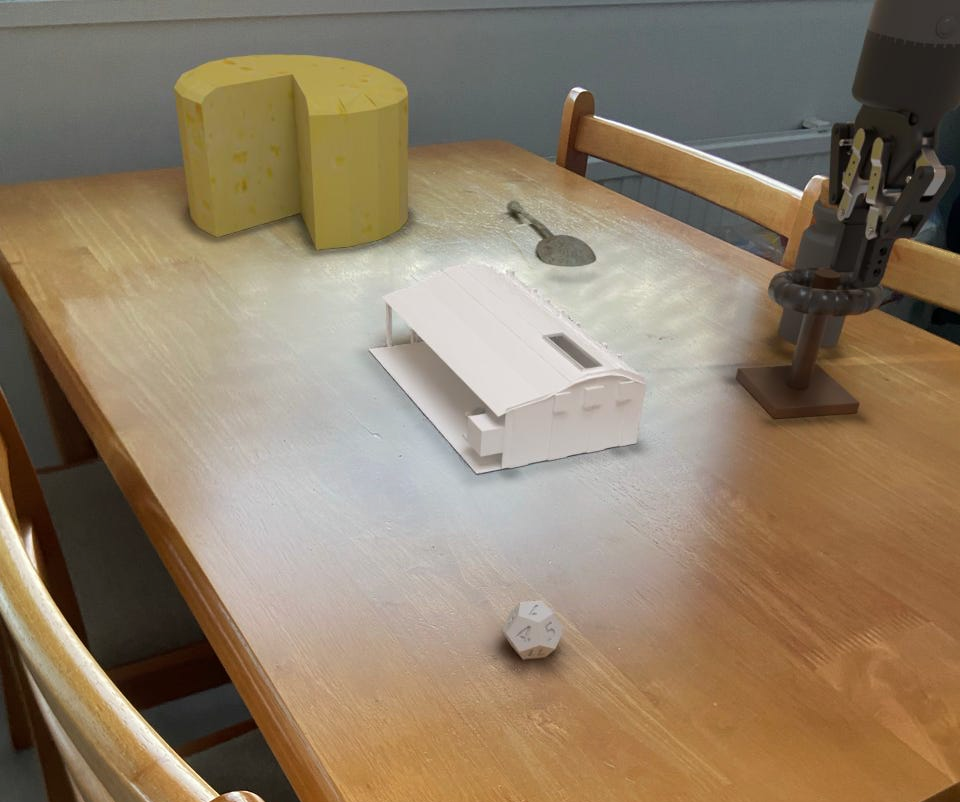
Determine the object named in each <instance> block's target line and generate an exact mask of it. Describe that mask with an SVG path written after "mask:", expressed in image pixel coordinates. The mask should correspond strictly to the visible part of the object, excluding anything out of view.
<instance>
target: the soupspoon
mask: <svg viewBox="0 0 960 802" xmlns="http://www.w3.org/2000/svg"><path fill="white" fill-rule="evenodd" d="M506 211H507V213H508V214H510V215H512V216H514V215H517V214H518V215H522V217H524V218H525V219H526V220H527V221H529V223H531V224H532V225H533V226H535V227H536V228H537V229H538V230H539V231H540V232H541V233H542V234H543V236H544V237H545V238H543V239H541V240H540V241H538V242H537V244H536V246H535V247H536V248H535V249H536V253H537V254H538V256H539V258H540V260H541V262H543V263H544V264H546V265H549V266H550V265H551V266H556V267H565V268H568V267H569V268H570V267H571V268H573V267H575V268H577V267H584V266H587V265H591V264H593V263H595V262H596V261H597V256H596V254H595V252H594V250H593V249H592V247H591V246H589V244H587V243H586V242H585V241H584V240H582V239H580V238H578V237H576V236H572V235H567V234H556V235H555V234H554V233H553V232H552V231H551V230H550V229H549V228H547V227H548V226H546V225H544V224H543V223H542V222H540V221H539V220H538V219H537V218H535V217H534V216H532V215H531V214H530V213H529V212H527V210H525V209H524V207H523V206H522V205H521V203H520V202H519V200H516V199H512V200H509V201H508V202H507V204H506Z"/></svg>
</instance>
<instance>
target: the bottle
mask: <svg viewBox="0 0 960 802" xmlns="http://www.w3.org/2000/svg"><path fill="white" fill-rule="evenodd" d="M820 185H821V187H820V198H819V199H817V200H815V202H814V203H813V206H812V211H811V214H812V216H814V217H815V218H816V221H815V223H814V224H811V225H810V226H808V227H806V228H805V229H804V230H803V231H802V235H801V239H800V242H799V246H798V249H797V254H796V258H795V261H794V265H793V269H795V268H815V267H819V268H831V267H830V262H831V258H832V252H833V248H834V246H835V241H836V237H837V234H838V230H839V226H840V222H841V221H840V220H839V219H838V217H837V211H838V207H837V205H830V204H829V200H828V198H829V178H826V179H823V180H822V181H821V184H820ZM842 189H845V187H844V186H843V185H842ZM865 194H866V193H864V197H865ZM863 200H864V199H863ZM867 221H868V220H866V221H865V222H867ZM804 314H805V313H801V312H797V311H793V310H789V309H786V308H783V309H782V314H781V318H780V321H779V326H778V330H777V334H778V336H779V337H780V338H781V339H782V340H783V341H785V342H787V343H789V344H792V345H794V346H796V344H797V341H798V337H799V333H800V329H801V325H802V322H803V318H804ZM846 317H847V316H829V317H828V321H827V324H826V328H825V332H824V335H823V339H822V342H821V346H820V349H821V350H822V349H829V348H832V347H835V346H836V345H837V344H838V343H839V341H840V337H841V335H842V330H843V327H844V324H845V320H846ZM820 349H819V350H820Z"/></svg>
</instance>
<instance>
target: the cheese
mask: <svg viewBox="0 0 960 802" xmlns="http://www.w3.org/2000/svg"><path fill="white" fill-rule="evenodd" d="M407 87H408V86H407V85H406V84H405V83H404V82H403V81H402V80H401V79H400V78H398V77H397V76H395V75H393V74H392V73H390V72H388V71H386V70H383V69H381V68H380V67H377V66H373V65H369V64H367V63H363V62H360V61H356V60H349V59H344V58H338V57H329V56H320V55H309V54H285V53H284V54H280V53H279V54H251V55H244V56H243V55H242V56H241V55H240V56H233V57H225V58H221V59H217V60H216V59H215V60H212V61H208V62H206V63H203V64H200V65H199V66H197V67H195V68H193V69H190V70H188V71H185V72H183V73H182V74H181V75H180V76H179V78H178V79H177V81H176V83H175V84H174V86H173V91H174V100H175V107H176V115H177V116H176V117H177V122H178V130H179V138H180V144H181V153H182V154H181V155H182V160H183V161H182V162H183V168H184V169H183V170H184V176H185V184H186V190H187V200H188V207H189V214H190V218H191V220H192V221H193V223H194V224H195V226H196V227H197V228H198V229H200V230H202V231H204V232H206V233H207V234H210V235H211V236H213V237H215V238H220V237H223V236H226V235H230V234H234V233H237V232H240V231H244V230H246V229H250V228H251V229H252V228H254V227H257V226H260V225H264V224H267V223H271V222H275V221H278V220H281V219H284V218H288V217H292V216H296V215H298V214H301V216H302V219H303V221H304V223H305V226H306V228H307V231H308V233H309V235H310V238H311V241H312V243H313V245H314V248H315V250H316V251H320V250H330V249H341V248H349V247H354V246H359V245H363V244H368V243H372V242H375V241H376V242H377V241H380V240H382V239H384V238H386V237H388V236H391V235H393V234H394V233H396V232H399V231H400V230H401V229H402V228H403V227H404V225H405V224H406V223H407V222H408V221H409V91H408V88H407Z"/></svg>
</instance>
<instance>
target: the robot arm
mask: <svg viewBox="0 0 960 802" xmlns="http://www.w3.org/2000/svg"><path fill="white" fill-rule="evenodd" d="M851 95H852V98H853V99H854V100H855V101H857V102H858V103H860V104H862V105H861V107H860V108H859V110H858V112H857V114H856V117H855V119H854V120H852V121H843V122H835V123H834V124H833V125H832V127H831V133H830V150H829V151H830V152H829V154H830V155H829V176H828V179H829V198H828V200H829V204H830V205H837V207H838V211H837V217H838V219H839V220H840V221H841V222H840V226H839V230H838V234H837V237H836V241H835V246H834V248H833V252H832V258H831V262H830V267H831V269H833V270H834V271H835V272H853V275H852V278H851V283H852V284H853V285H854V286H856V287H857V288H874V287H877V286H878V285H879V284H880V283H881V282H882V280H883V279H884V276H885V273H886V269H887V268H888V267H887V266H888V263H889V261H890V256H891V254H892V250H893V247H894V244H895V242H896V241H897V240H900V239H914V238H917V236H918V235H919V233H920V231H921V230H922V229H923V227H924V226H925V224H926V222H927V221H928V219H929V218H930V217H931V215H932V213H933V212H934V211H935V209H936V207H937V206H938V205H939V203H940V202H941V200H942V198H944V196H945V194H946V192H947V191H948V189H950V187H951V184H952V183H953V182H954V180H955V178H956V173H957V172H956V167H955V166H954V165H942V164H941V162H940V160H939V158H938V156H937V154H936V152H937V150H938V146H939V140H940V139H939V137H940V128H941V127H940V126H941V122H942V121H943V119H944V117H945V116H946V115H948V114H949V113H952V112H955V111H956V109H958V107H959V106H960V0H873V4H872V9H871V12H870V15H869V21H868V24H867V28H866V32H865V36H864V40H863V44H862V48H861V52H860V55H859V59H858V63H857V67H856V71H855V75H854V79H853V83H852V86H851ZM842 185H843V186H844V187H845V189H842ZM888 190H899V191H898V192H889V193H886V192H887V191H888ZM864 193H866V194H865V197H864ZM863 199H864V200H863ZM888 207H892V208H891V209H890V211H889V213H888V215H887V216H886V217H885V219H884V214H885V210H886V208H888ZM908 216H909V218H908V219H907V217H908ZM883 219H884V221H883ZM866 220H868V221H867V222H865V221H866Z"/></svg>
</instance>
